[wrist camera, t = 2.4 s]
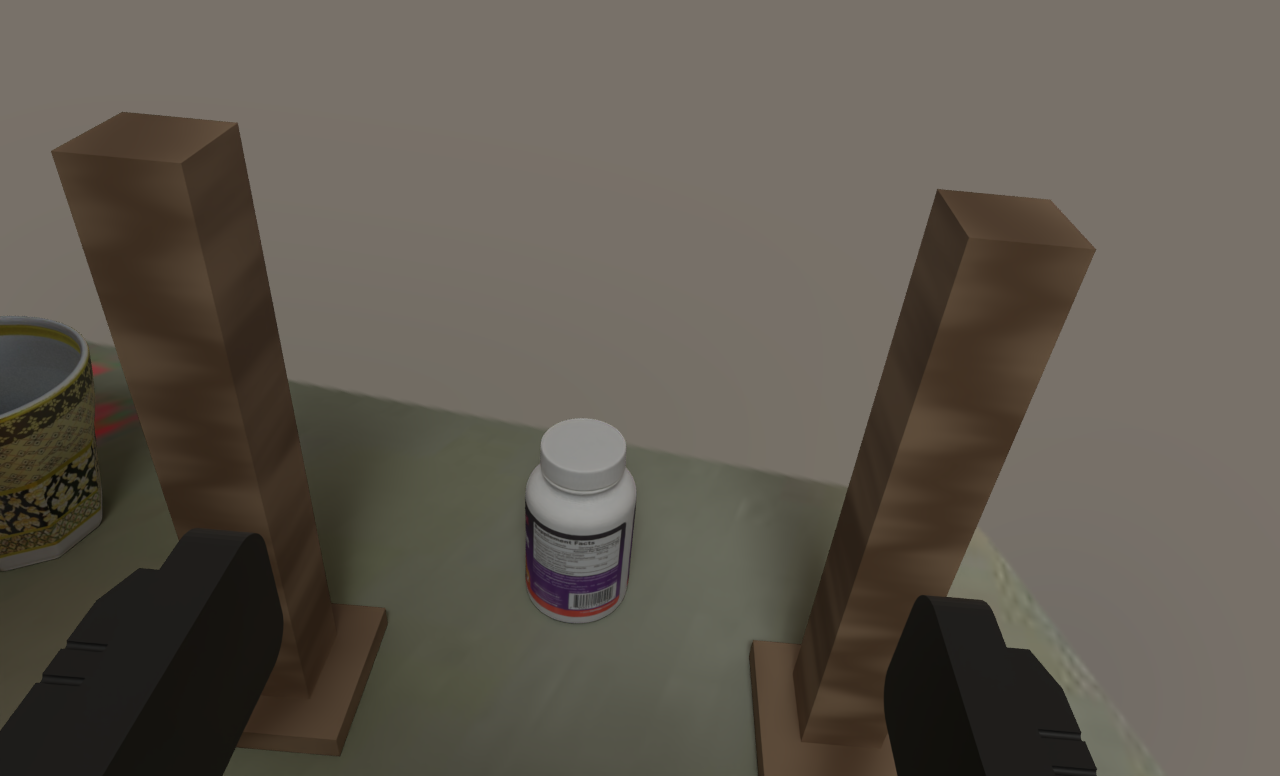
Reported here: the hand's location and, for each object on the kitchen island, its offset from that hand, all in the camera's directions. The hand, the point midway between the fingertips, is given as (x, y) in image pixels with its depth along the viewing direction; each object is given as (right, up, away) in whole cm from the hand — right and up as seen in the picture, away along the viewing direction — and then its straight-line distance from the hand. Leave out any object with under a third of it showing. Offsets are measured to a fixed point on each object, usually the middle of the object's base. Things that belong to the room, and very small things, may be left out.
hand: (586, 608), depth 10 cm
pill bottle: (-3, -8, +34) cm, 35 cm away
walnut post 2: (+9, -13, +28) cm, 32 cm away
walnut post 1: (-15, -11, +28) cm, 34 cm away
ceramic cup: (-32, -4, +36) cm, 48 cm away
